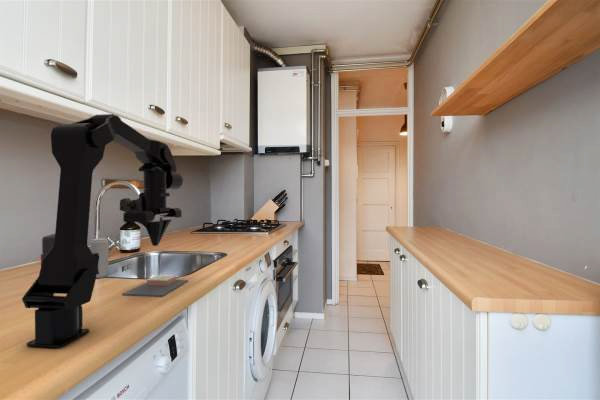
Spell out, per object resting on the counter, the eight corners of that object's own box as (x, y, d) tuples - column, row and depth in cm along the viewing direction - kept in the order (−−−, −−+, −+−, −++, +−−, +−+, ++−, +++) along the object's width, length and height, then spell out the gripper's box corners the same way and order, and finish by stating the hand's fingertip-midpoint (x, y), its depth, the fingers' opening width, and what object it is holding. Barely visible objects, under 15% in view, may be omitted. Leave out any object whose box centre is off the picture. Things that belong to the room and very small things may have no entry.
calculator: (55, 283, 91) (55, 232, 90) (73, 281, 92) (72, 231, 92) (39, 294, 80) (38, 237, 80) (59, 292, 82) (58, 236, 82)
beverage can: (92, 279, 94) (92, 240, 94) (88, 276, 98) (88, 239, 97) (110, 276, 98) (110, 239, 98) (105, 274, 101) (105, 237, 101)
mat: (162, 296, 79) (162, 295, 78) (122, 295, 80) (122, 293, 80) (188, 281, 92) (188, 280, 92) (153, 280, 94) (153, 279, 94)
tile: (167, 280, 87) (176, 275, 92) (146, 279, 87) (157, 275, 92) (167, 285, 87) (176, 280, 92) (147, 285, 87) (157, 280, 92)
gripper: (147, 189, 95) (148, 240, 95) (102, 188, 76) (103, 251, 77) (182, 189, 94) (182, 240, 94) (144, 188, 75) (145, 252, 75)
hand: (155, 245), depth 85 cm, fingers closed
